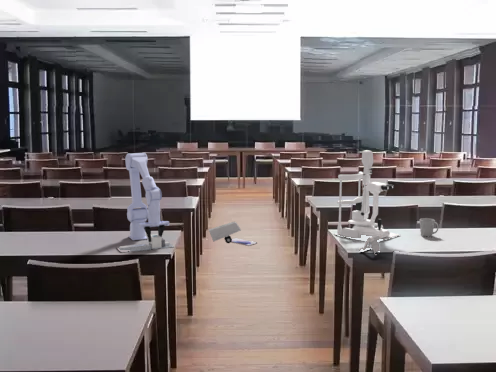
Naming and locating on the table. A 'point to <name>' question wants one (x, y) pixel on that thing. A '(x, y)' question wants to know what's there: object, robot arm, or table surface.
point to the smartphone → (243, 242)
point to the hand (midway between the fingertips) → (154, 241)
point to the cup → (427, 226)
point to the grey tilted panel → (224, 231)
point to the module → (155, 241)
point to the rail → (145, 246)
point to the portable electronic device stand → (373, 243)
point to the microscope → (364, 204)
